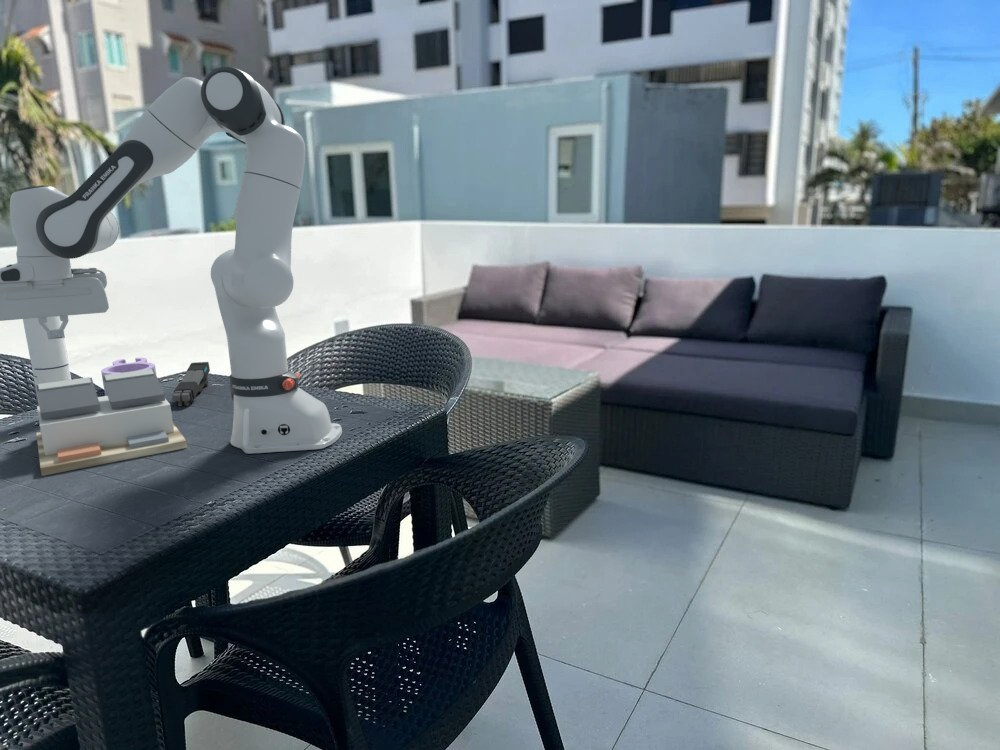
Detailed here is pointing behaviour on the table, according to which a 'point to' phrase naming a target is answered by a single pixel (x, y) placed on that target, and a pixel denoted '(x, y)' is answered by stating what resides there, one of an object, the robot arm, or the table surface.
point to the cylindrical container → (46, 352)
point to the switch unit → (106, 436)
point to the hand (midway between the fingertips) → (56, 338)
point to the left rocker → (67, 398)
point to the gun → (191, 383)
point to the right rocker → (133, 388)
